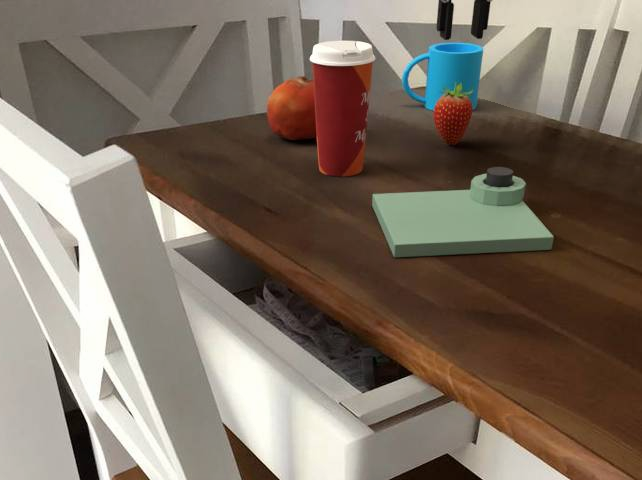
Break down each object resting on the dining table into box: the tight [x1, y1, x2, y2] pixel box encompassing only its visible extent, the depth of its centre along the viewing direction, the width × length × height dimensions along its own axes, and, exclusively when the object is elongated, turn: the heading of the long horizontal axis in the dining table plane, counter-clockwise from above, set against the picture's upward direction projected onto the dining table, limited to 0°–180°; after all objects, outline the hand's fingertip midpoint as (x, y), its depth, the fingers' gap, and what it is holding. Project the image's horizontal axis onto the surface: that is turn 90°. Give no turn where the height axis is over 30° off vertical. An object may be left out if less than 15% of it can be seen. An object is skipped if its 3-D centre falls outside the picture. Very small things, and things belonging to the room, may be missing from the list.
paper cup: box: [309, 40, 377, 178], centre depth 89 cm, size 8×8×14 cm
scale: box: [371, 173, 555, 258], centre depth 78 cm, size 16×14×3 cm
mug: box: [401, 42, 484, 112], centre depth 114 cm, size 12×8×8 cm
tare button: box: [485, 166, 514, 188], centre depth 80 cm, size 3×3×2 cm
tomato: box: [266, 75, 317, 141], centre depth 102 cm, size 9×9×8 cm
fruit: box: [432, 82, 474, 146], centre depth 98 cm, size 5×5×8 cm
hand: (460, 35), depth 92 cm, fingers open, 3 cm apart
